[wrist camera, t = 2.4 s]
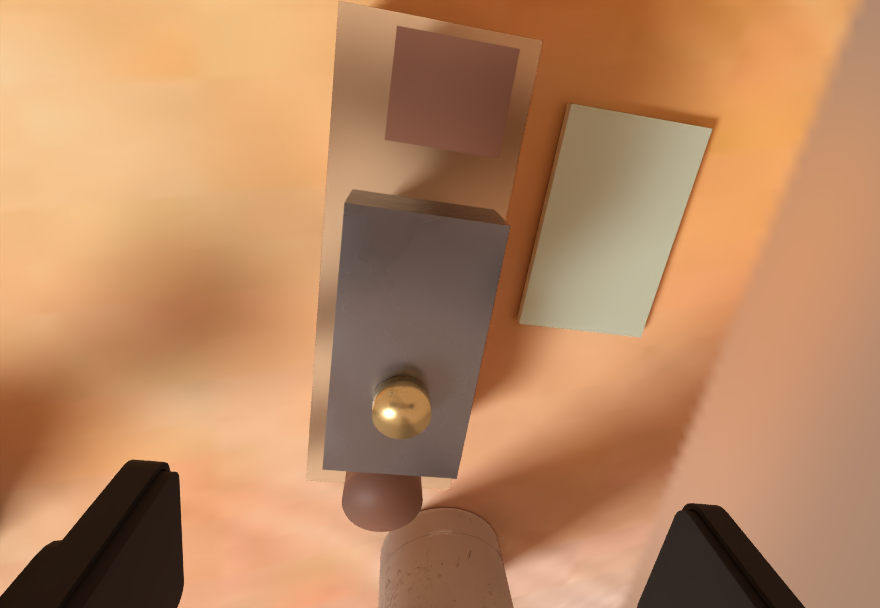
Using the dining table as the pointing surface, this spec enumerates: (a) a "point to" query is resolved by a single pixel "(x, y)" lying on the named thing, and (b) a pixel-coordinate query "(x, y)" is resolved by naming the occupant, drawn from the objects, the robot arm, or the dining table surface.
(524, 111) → the body
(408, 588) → the thermos bottle
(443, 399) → the lever cap
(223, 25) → the dining table surface
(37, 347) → the dining table surface
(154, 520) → the robot arm
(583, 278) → the felt mat
